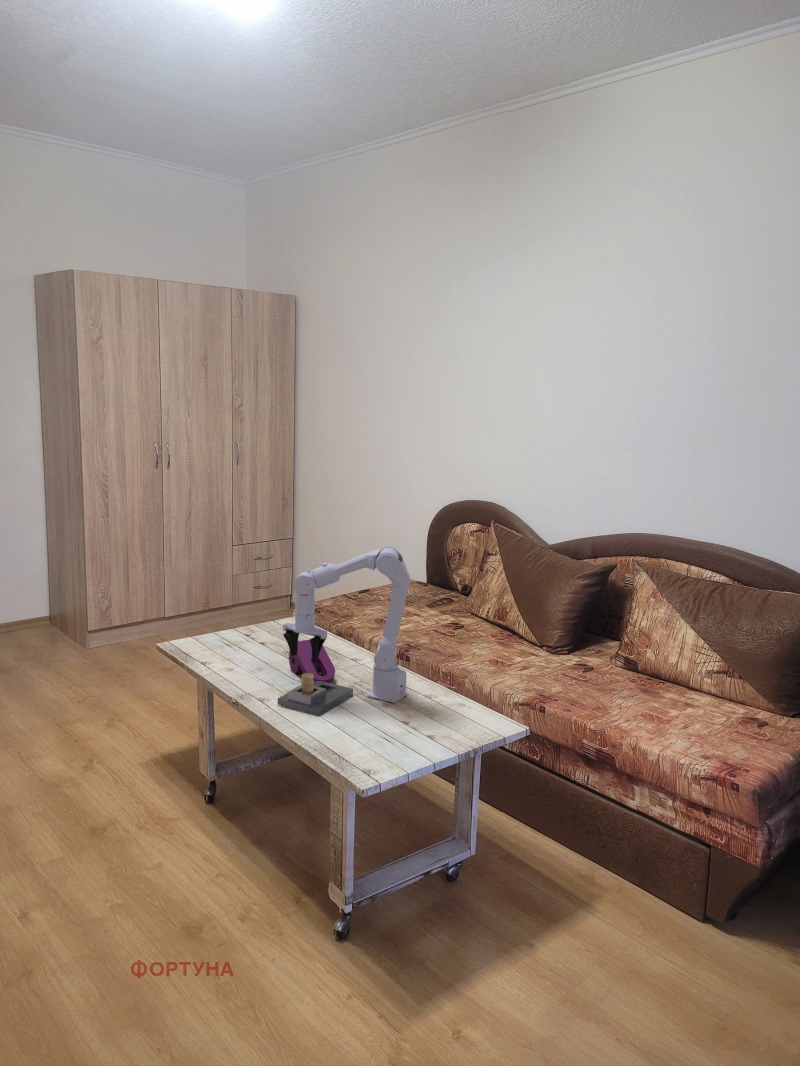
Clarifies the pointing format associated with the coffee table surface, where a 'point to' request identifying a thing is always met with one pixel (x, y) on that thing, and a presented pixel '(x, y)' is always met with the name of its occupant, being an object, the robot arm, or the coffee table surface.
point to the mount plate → (316, 698)
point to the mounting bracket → (312, 662)
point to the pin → (307, 683)
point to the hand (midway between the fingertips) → (304, 657)
